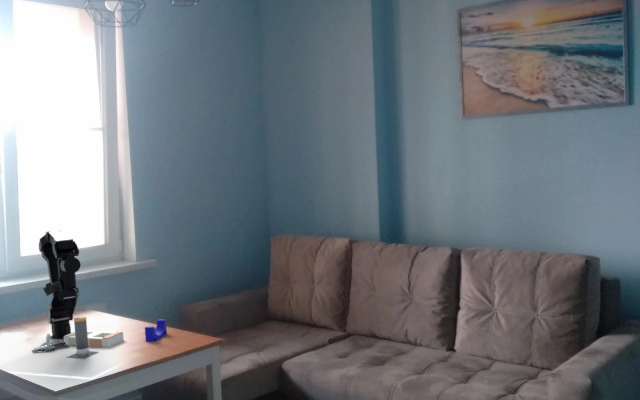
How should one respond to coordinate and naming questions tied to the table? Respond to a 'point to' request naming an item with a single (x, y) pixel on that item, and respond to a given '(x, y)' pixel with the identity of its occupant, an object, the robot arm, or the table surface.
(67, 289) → the robot arm
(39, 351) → the pacifier
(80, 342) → the plug
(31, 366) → the table surface
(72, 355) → the mat
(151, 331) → the cable clip
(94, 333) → the socket panel
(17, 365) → the table surface
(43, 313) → the table surface
